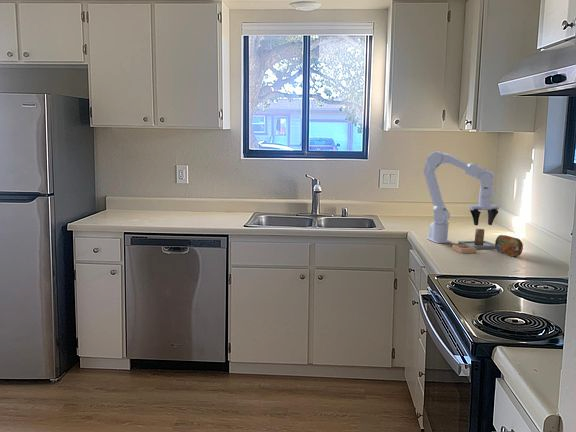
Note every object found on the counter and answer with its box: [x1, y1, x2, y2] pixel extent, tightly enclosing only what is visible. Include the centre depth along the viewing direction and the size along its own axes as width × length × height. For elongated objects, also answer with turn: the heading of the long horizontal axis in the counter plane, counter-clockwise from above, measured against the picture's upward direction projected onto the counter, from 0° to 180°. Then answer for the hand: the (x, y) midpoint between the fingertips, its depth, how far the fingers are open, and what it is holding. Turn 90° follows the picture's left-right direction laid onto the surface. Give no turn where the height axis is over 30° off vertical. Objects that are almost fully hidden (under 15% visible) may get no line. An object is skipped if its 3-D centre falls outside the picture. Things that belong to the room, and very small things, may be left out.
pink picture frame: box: [451, 244, 477, 254], centre depth 260 cm, size 8×8×2 cm
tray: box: [457, 240, 496, 250], centre depth 272 cm, size 11×15×2 cm
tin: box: [494, 234, 524, 257], centre depth 256 cm, size 15×3×8 cm, turn 21°
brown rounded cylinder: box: [474, 228, 485, 246], centre depth 271 cm, size 4×4×8 cm
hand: (482, 225), depth 271 cm, fingers open, 7 cm apart
